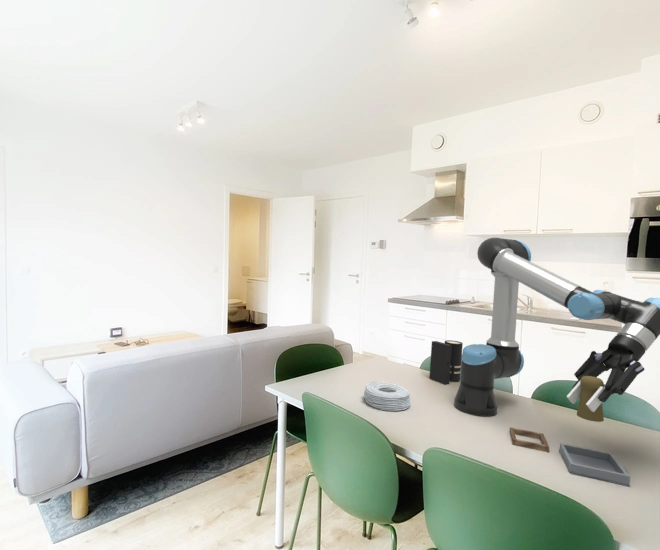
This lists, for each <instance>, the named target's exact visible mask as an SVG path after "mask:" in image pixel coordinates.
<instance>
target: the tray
mask: <svg viewBox="0 0 660 550" xmlns="http://www.w3.org/2000/svg"><path fill="white" fill-rule="evenodd" d="M558 449H559V450H558V452H559V454H560V456H561V458H562V460H563V462H564V464H565V466H566V468H567V470H568V472H569V474H570V475H571V474H572V475H575V476H581V477H586V478H589V479H594V480H599V481H603V482H608V483H612V484H615V485H620V486H625V487H630V484H631V476H630V474H629V472H627V471H626V470H625V468H624V467H623V465H622V464H621V463H620V462H619V461H618V459H617V458H616V457H615V455H614V454H613V453H612V452H607V451H602V450H598V449H591V448H587V447H582V446H578V445H577V446H576V445H572V444H566V443H562V442H559V448H558Z"/></svg>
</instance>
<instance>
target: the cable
mask: <svg viewBox="0 0 660 550" xmlns="http://www.w3.org/2000/svg"><path fill="white" fill-rule="evenodd" d="M363 396H364V400H365V402H366V404H367V405H368V406H370V407H373V408H374V409H377V410H381V411H389V412H390V411H393V412H394V411H395V412H399V411H404V410H407V409H409V408H410V406H411V397H410V391H409V390H408V389H407V388H405V387H403V386H401V385H398V384H395V383H392V382H389V381H385V380H383V381H382V380H381V381H380V380H377V381H376V380H375V381H369V382H368V383H367V384H366V386H365V387H364V392H363Z"/></svg>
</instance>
